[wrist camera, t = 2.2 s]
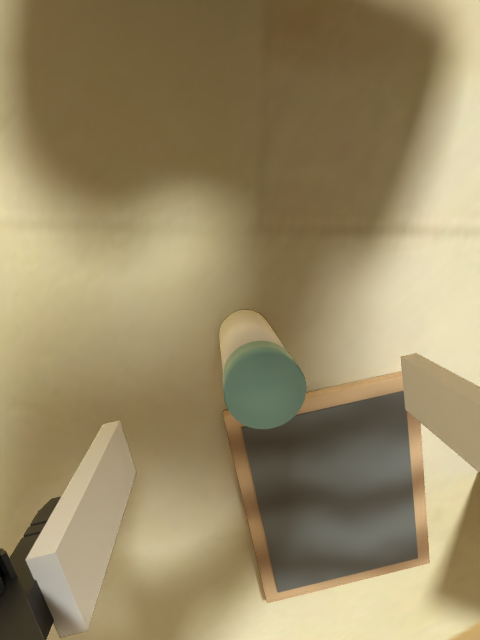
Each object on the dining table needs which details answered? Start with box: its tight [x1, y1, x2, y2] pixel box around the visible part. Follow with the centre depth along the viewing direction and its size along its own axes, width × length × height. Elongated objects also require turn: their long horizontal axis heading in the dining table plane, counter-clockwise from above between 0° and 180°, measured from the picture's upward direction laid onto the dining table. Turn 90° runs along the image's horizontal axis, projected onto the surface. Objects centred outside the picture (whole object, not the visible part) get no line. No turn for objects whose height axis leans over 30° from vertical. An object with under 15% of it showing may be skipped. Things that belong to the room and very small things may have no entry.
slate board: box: [223, 371, 430, 603], centre depth 30 cm, size 20×16×1 cm
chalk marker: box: [219, 310, 306, 429], centre depth 22 cm, size 4×4×10 cm
